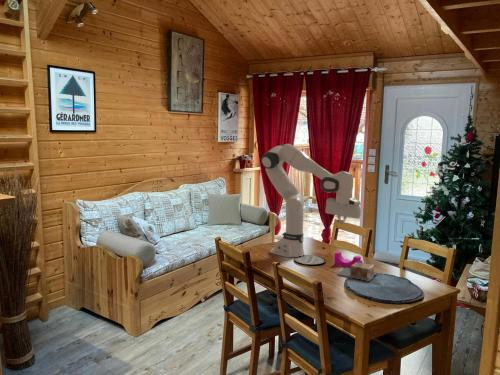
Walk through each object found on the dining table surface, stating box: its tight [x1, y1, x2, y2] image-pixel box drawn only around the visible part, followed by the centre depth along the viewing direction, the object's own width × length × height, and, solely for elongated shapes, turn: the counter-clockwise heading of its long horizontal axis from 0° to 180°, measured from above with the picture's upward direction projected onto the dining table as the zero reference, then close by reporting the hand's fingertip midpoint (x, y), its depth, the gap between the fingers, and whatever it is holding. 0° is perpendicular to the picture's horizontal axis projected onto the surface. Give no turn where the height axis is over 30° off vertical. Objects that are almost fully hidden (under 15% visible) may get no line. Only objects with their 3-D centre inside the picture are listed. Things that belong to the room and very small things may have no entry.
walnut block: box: [351, 262, 375, 278], centre depth 229 cm, size 5×9×10 cm
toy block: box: [333, 251, 363, 268], centre depth 246 cm, size 15×6×8 cm, turn 49°
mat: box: [336, 267, 379, 282], centre depth 231 cm, size 18×16×1 cm
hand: (341, 223), depth 237 cm, fingers closed
